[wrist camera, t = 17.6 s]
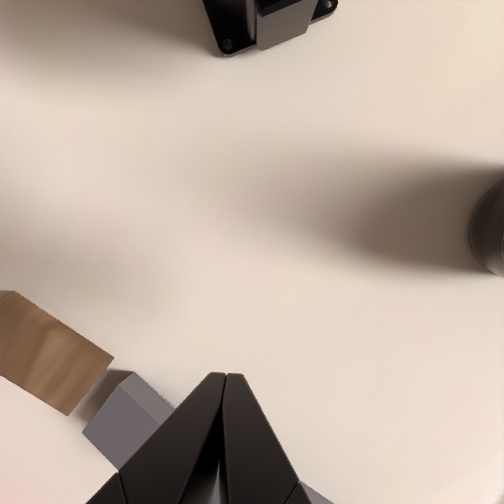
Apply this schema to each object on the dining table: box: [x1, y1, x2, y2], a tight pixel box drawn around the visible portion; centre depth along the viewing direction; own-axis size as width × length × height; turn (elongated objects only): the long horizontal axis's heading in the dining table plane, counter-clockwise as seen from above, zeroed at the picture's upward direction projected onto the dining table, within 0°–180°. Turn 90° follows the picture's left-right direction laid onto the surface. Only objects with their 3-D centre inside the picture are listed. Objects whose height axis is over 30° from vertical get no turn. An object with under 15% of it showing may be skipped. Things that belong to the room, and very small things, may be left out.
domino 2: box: [82, 372, 174, 470], centre depth 22 cm, size 2×5×8 cm
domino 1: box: [0, 291, 114, 416], centre depth 22 cm, size 2×5×8 cm
